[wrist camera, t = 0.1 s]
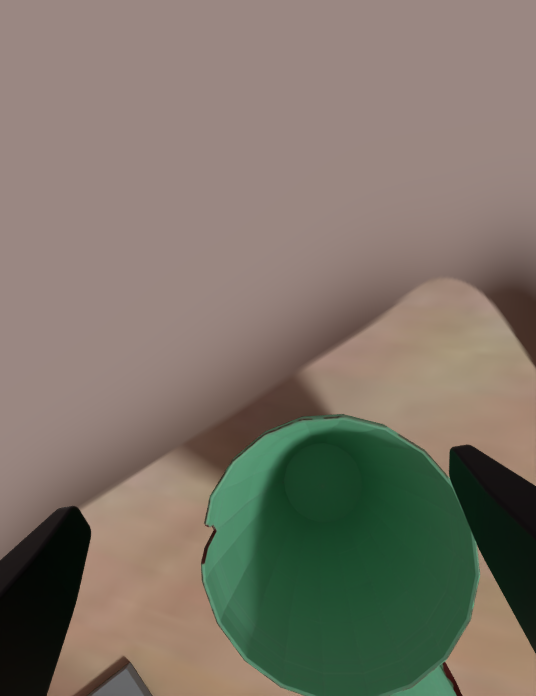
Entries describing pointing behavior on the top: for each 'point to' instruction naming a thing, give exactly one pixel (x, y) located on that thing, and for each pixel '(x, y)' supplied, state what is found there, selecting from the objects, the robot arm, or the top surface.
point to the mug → (341, 560)
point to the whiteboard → (123, 684)
